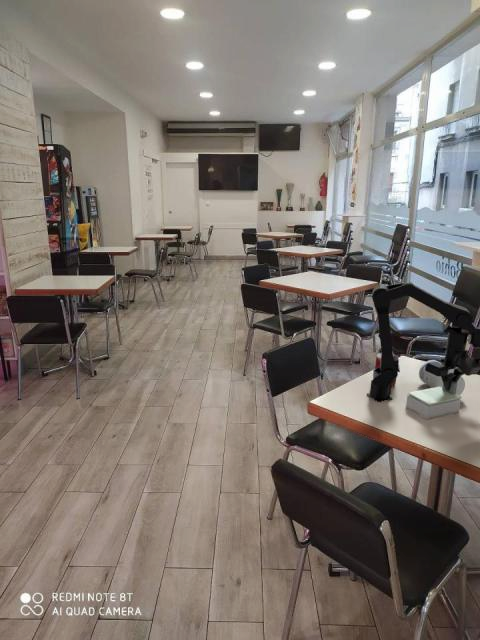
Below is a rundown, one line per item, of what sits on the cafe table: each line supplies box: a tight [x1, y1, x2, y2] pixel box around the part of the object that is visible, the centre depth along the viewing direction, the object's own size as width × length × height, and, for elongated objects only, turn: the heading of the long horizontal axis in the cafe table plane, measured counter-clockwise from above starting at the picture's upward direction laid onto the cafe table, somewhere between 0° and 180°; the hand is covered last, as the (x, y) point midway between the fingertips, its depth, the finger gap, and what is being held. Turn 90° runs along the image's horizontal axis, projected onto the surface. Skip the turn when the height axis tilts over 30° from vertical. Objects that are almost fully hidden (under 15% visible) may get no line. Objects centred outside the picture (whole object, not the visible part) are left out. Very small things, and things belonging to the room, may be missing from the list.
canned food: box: [374, 352, 397, 388], centre depth 165 cm, size 8×8×11 cm
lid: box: [407, 381, 462, 405], centre depth 144 cm, size 14×9×5 cm, turn 113°
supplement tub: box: [418, 359, 466, 396], centre depth 159 cm, size 10×10×15 cm
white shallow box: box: [405, 394, 462, 420], centre depth 145 cm, size 14×9×4 cm, turn 113°
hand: (449, 390), depth 147 cm, fingers closed on lid
